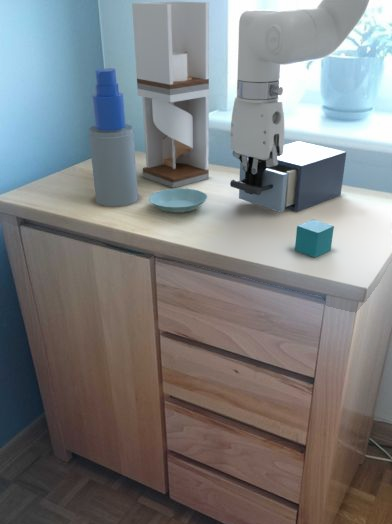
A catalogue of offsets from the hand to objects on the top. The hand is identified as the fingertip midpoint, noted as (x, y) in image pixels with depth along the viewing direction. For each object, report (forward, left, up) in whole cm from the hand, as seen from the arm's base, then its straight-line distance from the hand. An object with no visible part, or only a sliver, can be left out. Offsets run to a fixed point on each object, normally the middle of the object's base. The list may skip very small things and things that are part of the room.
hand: (252, 191), depth 110 cm
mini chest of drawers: (0, -14, -4) cm, 14 cm away
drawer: (0, -6, -3) cm, 7 cm away
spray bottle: (+25, +15, -4) cm, 30 cm away
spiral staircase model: (+28, -4, -4) cm, 28 cm away
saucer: (+12, +9, -4) cm, 16 cm away
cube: (-20, +6, -4) cm, 21 cm away
